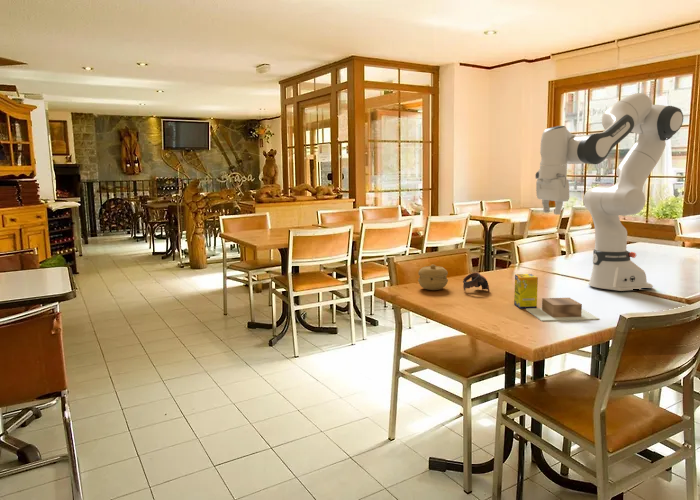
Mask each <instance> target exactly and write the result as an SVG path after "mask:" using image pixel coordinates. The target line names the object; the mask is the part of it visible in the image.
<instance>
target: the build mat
mask: <svg viewBox="0 0 700 500" xmlns="http://www.w3.org/2000/svg"><path fill="white" fill-rule="evenodd" d="M525 310H526V311H527V312H528V313H530V314H531V315H533V317H535V318H536V319H538V320H539V321H541V322H561V321H563V322H565V321H598V320H600V317H597V316H596V315H594V314H592V313H590V312H588V311H586V309H583V308H582V313H581V317H552V316H550V315H549V314H547V313H546V312H544V311H543V310H542V307H540V308H539V307H537V308H527V309H525Z"/></svg>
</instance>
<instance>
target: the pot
mask: <svg viewBox="0 0 700 500" xmlns="http://www.w3.org/2000/svg"><path fill="white" fill-rule="evenodd" d="M417 274H418V276H419V277H418V280H417V282H418V283H419V286H420V287H421V288H422V289H425V290H428V291H438V290H442V289H444V288H445V287H446V285H447V284H448V281H449V279H448V278H447V276H448V270H447V269H446V268H444V267H443V266H440V265H439V266H438V265H436V264H431V265H429V266H427V265H426V266H423V267H421V268H420V269H419V270H418V273H417Z"/></svg>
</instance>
